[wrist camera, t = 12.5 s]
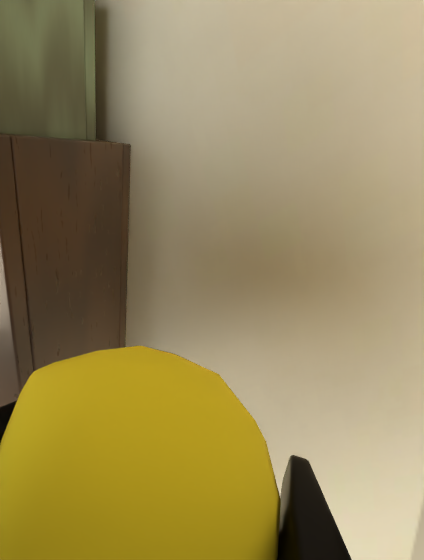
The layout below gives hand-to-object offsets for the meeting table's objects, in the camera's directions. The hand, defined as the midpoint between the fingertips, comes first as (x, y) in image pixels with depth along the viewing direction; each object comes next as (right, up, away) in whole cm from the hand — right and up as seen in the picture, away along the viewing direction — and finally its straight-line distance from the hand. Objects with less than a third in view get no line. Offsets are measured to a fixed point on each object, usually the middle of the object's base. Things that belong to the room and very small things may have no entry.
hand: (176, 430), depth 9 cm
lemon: (0, 0, +1) cm, 1 cm away
